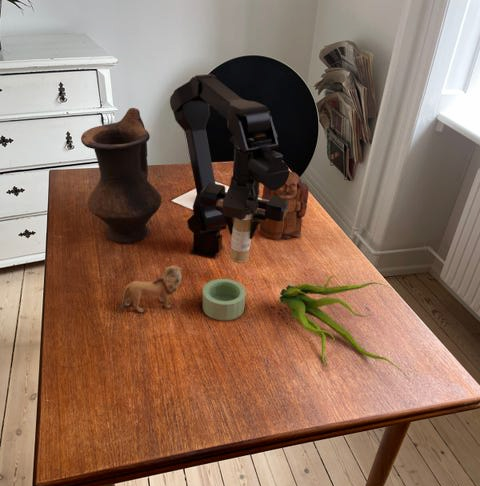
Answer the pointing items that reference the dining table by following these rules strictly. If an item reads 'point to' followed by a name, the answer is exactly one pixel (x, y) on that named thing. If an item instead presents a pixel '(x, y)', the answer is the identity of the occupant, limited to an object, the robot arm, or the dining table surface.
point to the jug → (122, 178)
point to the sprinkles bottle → (241, 239)
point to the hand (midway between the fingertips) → (241, 236)
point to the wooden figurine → (292, 221)
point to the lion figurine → (154, 288)
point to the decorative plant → (310, 306)
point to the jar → (223, 299)
